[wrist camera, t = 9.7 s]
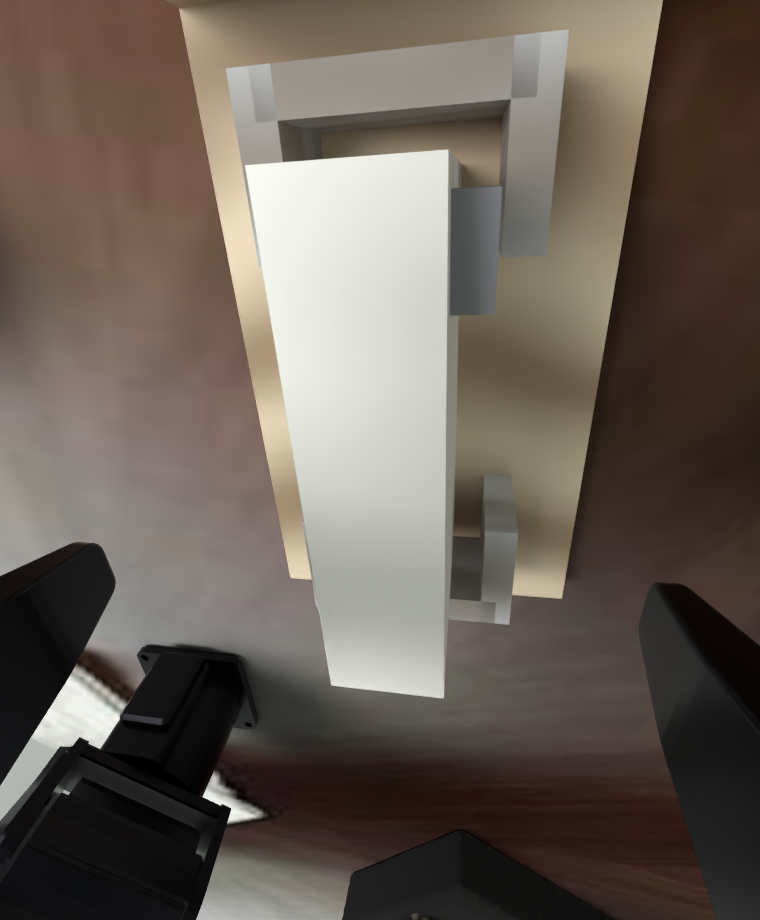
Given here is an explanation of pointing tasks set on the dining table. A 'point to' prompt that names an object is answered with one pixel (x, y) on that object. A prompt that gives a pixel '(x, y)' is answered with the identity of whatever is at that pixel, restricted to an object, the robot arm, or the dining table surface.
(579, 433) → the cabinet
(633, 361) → the dining table surface
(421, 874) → the coral
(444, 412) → the door
